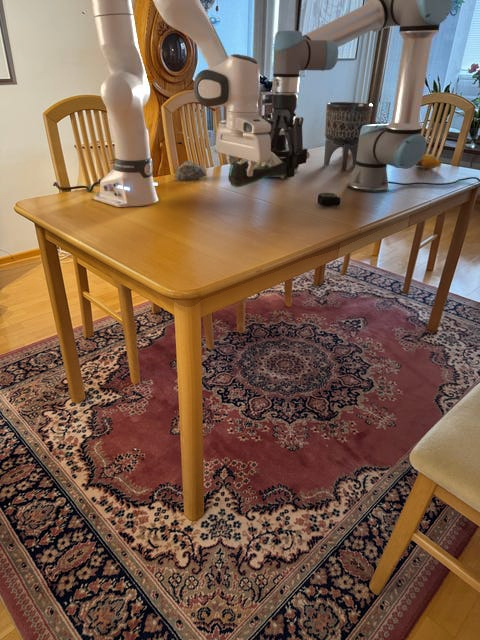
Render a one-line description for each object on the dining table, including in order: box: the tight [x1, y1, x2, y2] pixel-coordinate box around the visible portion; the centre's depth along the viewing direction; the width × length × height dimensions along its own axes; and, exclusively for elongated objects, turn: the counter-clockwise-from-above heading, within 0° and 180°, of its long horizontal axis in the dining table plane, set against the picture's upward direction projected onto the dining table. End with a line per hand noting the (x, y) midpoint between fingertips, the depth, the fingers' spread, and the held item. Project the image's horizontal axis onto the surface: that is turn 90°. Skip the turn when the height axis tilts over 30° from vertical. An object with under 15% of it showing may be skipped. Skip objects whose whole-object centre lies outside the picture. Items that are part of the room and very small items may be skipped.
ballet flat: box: [228, 152, 287, 188], centre depth 136 cm, size 8×24×8 cm, turn 132°
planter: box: [323, 101, 374, 172], centre depth 204 cm, size 20×20×26 cm
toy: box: [415, 154, 442, 170], centre depth 212 cm, size 11×6×15 cm
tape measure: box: [317, 192, 342, 208], centre depth 153 cm, size 7×7×4 cm
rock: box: [174, 160, 208, 182], centre depth 182 cm, size 13×9×6 cm, turn 131°
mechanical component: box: [238, 129, 311, 179], centre depth 191 cm, size 22×21×30 cm
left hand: (240, 173), depth 133 cm, fingers closed on ballet flat, 6 cm apart
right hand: (280, 174), depth 143 cm, fingers closed on ballet flat, 8 cm apart
